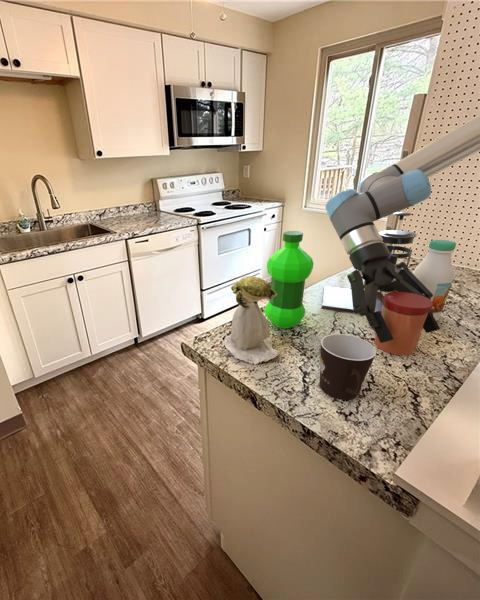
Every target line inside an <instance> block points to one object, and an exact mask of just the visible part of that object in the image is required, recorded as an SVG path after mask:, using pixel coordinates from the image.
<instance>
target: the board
mask: <svg viewBox="0 0 480 600" xmlns="http://www.w3.org/2000/svg"><path fill="white" fill-rule="evenodd" d="M364 291H365V289H364ZM383 298H384V297H383V295H382V291H377V298H376V307H375V311H374V312H376V311H380V313H381V312H382V308H383V302H382V301H383ZM321 302H322V303H321V307H320V308H321V309H323V310H330V311H337V312H346V313H352V314H355V313H354V311H353V302H352V293H351V288H347V287H338V286H337V287H336V286H328V285H324V287H323V295H322V300H321Z"/></svg>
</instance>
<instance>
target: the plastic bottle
mask: <svg viewBox="0 0 480 600" xmlns="http://www.w3.org/2000/svg"><path fill="white" fill-rule="evenodd" d="M282 233H283V235H282V241H283V242H284V246H283V247H281V248H280V249H278V250H277V251H276V252H274V254H272V255H271V256H269V259H268V260H267V262H266V270H267V271H266V272H267V274H269V276H270V277H271V280H270V288H272V289H273V290H274V291H275V292H276V294H277V295H276V296H274V297H273V298H272V299H269V300H268V303H267V304H266V306H265V307H264V313H265V317H266V318H267V320H268V321H270V323H272V324H273V325H274V326H275V327H278V328H280V329H290V328H293V327H295V326H297V325H299V324H300V323H301V321H302V320H303V319H304V316H305V314H306V308H305V306H304V304H303V300H304V293H305V286H306V280H307V279H309V277H310V275H311V274H312V271H313V269H314V260H313V258H312V257H311V255H309V254H308V252H306V251H305V250H304V249H302V248H301V247H300V243H302V242H303V238H304V232H303V231H300V230H287V231H284V232H282Z"/></svg>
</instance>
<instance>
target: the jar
mask: <svg viewBox="0 0 480 600" xmlns="http://www.w3.org/2000/svg"><path fill="white" fill-rule="evenodd" d="M381 315H382V317H383V319H384V321H385V323H386V325H387V327H388V329H389V331H390V333H391V335H392V337H393V339H394V340H390V341H387V342H383V343H380V341H379V339H378V337H377V334H376V333H375V336H374V340H373V343H374V346H375V347H377V348H378V349H379V350H381V351H383V352H386V353H388V354H392V355H395V356H411V355H413V354H415V352H416V350H417V348H418V344H419V341H420V339H421V336H422V333H423V331H424V328H423V327H424V324H425V321H426V318H427V315H428V314H425V315H407V314H402V313H398V312H395V311H392V310H390V309H388V308H386V307H385V306H384V305H383V308H382V312H381Z"/></svg>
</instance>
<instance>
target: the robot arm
mask: <svg viewBox="0 0 480 600" xmlns="http://www.w3.org/2000/svg"><path fill="white" fill-rule="evenodd" d="M479 152H480V114H478V115H477V116H475V117H473V118H471V119H470V120H468V121H466V122H464V123H463V124H461V125H459V126H457V127H456V128H454V129H452V130H450V131H449V132H447V133H444V135H442V136H440V137H438V138H437V139H435V140H433V141H431V142H430V143H427V144H426V145H424V146H423V147H421V148H419V149H417V150H415V151H414V152H412V153H410V154H409V155H407V156H405V157H403V158H401V159H400V160H398V161H397V162H395V163H393V164H392V165H390V166H387V167H386V168H384V169H382V170H380V171H376V172H375V171H374V172H372V173H369V174H367V175H365V176H364V177H363V178H362V179H361V181H360V182H359V184H358V188H357V189H358V190H356V189H353V188H349V189H346V190H342V191H339V192H337V193H335V194H334V195H332V196H331V197H330V198H328V200H327V202H326V204H325V210H326V213H327V215H328V217H329V220H330V223H331V224H332V227H333V228H334V230H335V232H336V234H337V236H338V238H339V240H340V242H341V244H342V246H343V248H344V251H345V252H346V254H347V255H348V256H349V257H348V258H349V261H350V263H351V265H352V267H353V269H354V270H353V271H351V272H350V273H348V274H347V275H346V277H347V279H348V282H349V284H350V289H351V293H352V302H353V311H354V313H353V314H355V315H358V314H359V315H360V316H361V317H365V318H366V320H367V322H368V324H369V326H370V328H371V329H373V330H374V332H375V335H376V334H377V337H378V339H379V341H380V343H383V342H387V341H390V340H394V339H393V337H392V335H391V333H390V331H389V329H388V327H387V325H386V323H385V321H384V319H383V317H382V315H381V313H380V311H376V312H374V311H375V307H376V298H377V292H378V291H379V290H378V286H379V285H387V286H390V287H393V288H394V289H395V290H397V291H396V292H408V293H414V294H418V295H421V296H424V297H426V298H428V299H430V300H431V297H433V294H432V293H431V292H430V291H429V290H428V289H427V288H426V287H425V286H424V285H423V284H422V283H421V282H420V281H419V280H418V279H417V278H416V276H415V275H414V274H413V272H412V271H411V270H410V269H409V266H408V267H407V262H405V261H401V262H398V263H396V265H393V264H392V263H391V262H390V260H389V259H390V256H391V254H390V252H389V250H388V249H387V247H386V245H387V244H386V243H384V242H382V241H383V239H382V237H381V235H380V233H379V232H380V231H379V230H378V228H377V227H376V225H375V223H374V222H376V221H378V220H380V219H383V218H386V217H388V216H390V215H393V214H394V213H397V212H402V211H404V210H406V209H408V208H410V207H412V208H413V207H414V206H415V205H417V204H419V203H422V202H424V201H427V199H429V198H430V196H431V195H432V185H431V183H430V180H429V178H431V177H433V176H435V175H437V174H438V173H441V172H442V171H444V170H446V169H448V168H450V167H452V166H454V165H456V164H457V163H459V162H460V163H461V162H462V161H464V160H466V159H467V158H469V157H471V156H473V155H476V153H479ZM394 278H395V279H394ZM364 290H365V291H364ZM423 294H424V295H423ZM439 330H441V327H440V325H439V324H438V322H437V321H436V320H435V318H434V316H433V312H432V310H431V312H429V313H428V315H427V318H426V321H425V324H424V327H423V331H424V332H425V334H429V333H432V332H435V331H436V332H437V331H439Z"/></svg>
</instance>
